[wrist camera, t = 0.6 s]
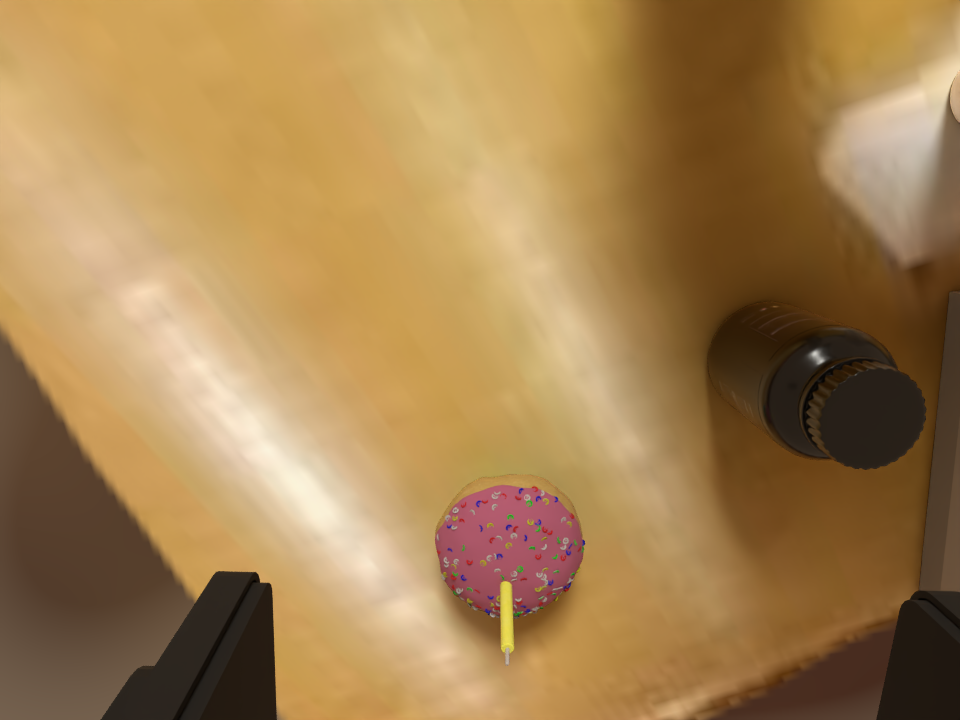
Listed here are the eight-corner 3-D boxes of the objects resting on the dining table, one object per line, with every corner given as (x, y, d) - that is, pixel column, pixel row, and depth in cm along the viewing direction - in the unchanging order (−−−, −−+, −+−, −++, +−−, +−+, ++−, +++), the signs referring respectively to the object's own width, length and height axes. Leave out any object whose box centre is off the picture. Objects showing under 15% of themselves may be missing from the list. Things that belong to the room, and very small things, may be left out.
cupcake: (554, 579, 46) (583, 717, 34) (426, 556, 45) (411, 688, 34) (586, 460, 44) (628, 563, 32) (452, 434, 43) (446, 530, 32)
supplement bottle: (819, 399, 43) (949, 483, 31) (708, 415, 43) (796, 505, 31) (816, 289, 41) (953, 335, 30) (700, 307, 41) (790, 359, 30)
